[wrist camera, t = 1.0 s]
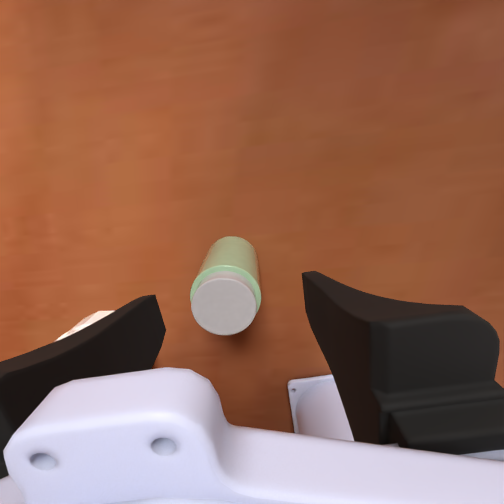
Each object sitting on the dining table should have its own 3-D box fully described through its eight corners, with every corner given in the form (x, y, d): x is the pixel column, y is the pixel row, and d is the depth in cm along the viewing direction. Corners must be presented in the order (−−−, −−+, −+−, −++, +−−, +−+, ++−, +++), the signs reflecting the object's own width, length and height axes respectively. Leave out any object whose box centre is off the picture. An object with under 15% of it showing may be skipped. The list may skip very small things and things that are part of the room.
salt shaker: (261, 279, 22) (267, 334, 15) (212, 287, 22) (195, 345, 15) (253, 232, 20) (256, 267, 13) (201, 240, 21) (177, 279, 13)
